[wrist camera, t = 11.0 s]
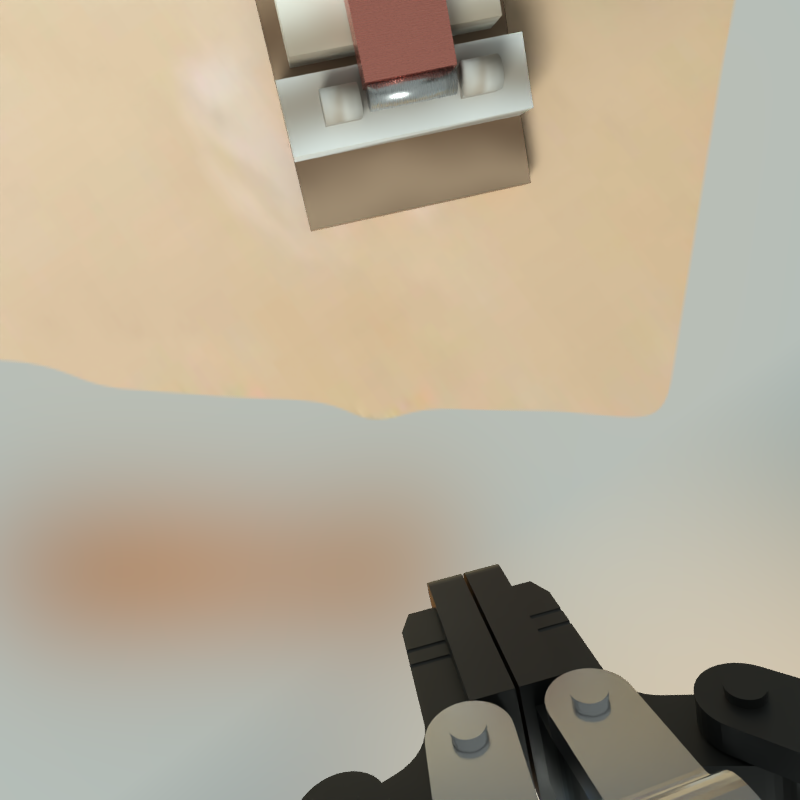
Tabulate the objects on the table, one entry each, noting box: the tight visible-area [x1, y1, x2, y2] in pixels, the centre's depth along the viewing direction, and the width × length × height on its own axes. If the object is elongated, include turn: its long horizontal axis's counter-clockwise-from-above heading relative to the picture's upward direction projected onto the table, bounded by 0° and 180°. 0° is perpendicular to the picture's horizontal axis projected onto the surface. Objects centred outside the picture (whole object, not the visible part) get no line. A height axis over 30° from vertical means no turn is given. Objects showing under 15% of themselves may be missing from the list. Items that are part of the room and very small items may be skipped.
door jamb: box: [255, 0, 533, 231], centre depth 36 cm, size 21×14×6 cm, turn 12°
